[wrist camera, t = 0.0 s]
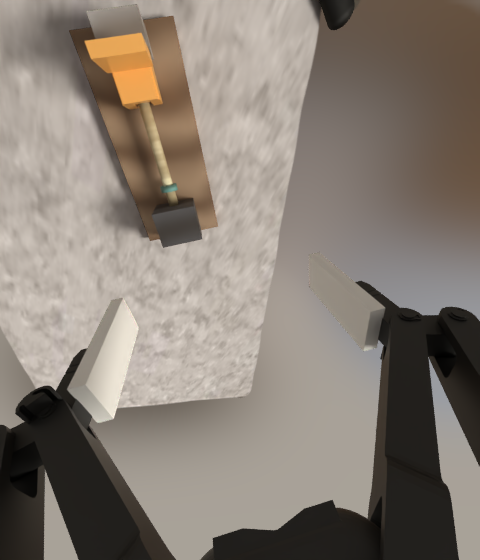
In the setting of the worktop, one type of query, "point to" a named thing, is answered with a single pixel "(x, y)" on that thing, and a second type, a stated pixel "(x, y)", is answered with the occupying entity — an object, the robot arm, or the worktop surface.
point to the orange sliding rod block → (127, 67)
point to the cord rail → (153, 129)
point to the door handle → (337, 12)
